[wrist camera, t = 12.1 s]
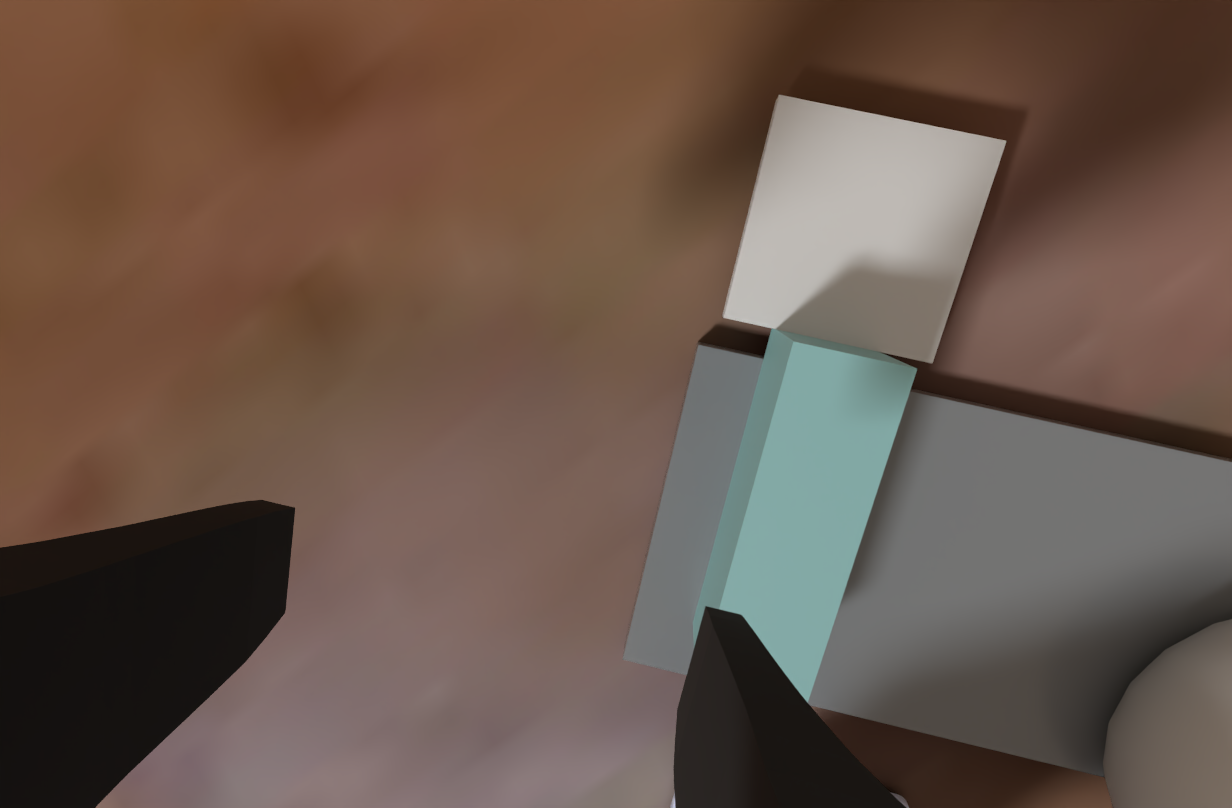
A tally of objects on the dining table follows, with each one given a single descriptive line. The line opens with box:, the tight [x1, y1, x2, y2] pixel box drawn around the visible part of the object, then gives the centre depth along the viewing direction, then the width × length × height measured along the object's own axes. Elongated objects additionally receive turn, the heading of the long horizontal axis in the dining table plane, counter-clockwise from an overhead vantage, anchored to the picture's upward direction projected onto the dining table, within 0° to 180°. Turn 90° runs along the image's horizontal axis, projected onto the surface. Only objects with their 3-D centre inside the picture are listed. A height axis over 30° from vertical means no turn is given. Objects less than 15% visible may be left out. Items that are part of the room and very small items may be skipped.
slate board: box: [623, 342, 1232, 777], centre depth 20 cm, size 11×22×1 cm, turn 78°
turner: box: [693, 95, 1006, 703], centre depth 17 cm, size 16×6×4 cm, turn 168°
